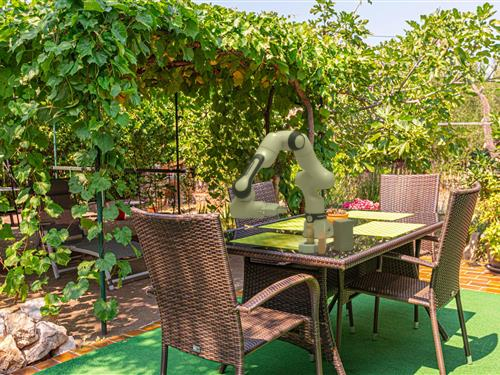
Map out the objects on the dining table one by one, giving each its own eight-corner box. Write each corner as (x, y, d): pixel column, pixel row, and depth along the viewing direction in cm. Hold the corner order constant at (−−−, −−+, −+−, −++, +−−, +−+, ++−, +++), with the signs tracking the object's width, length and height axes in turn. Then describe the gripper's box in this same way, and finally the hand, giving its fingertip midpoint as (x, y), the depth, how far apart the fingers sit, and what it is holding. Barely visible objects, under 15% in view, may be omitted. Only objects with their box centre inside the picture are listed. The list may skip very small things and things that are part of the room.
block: (298, 252, 253) (298, 245, 253) (300, 247, 267) (300, 240, 267) (318, 253, 251) (318, 246, 251) (320, 247, 265) (320, 241, 265)
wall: (318, 254, 249) (318, 238, 249) (320, 247, 267) (320, 232, 266) (324, 254, 249) (324, 238, 248) (326, 247, 266) (326, 232, 266)
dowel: (309, 249, 262) (309, 222, 261) (316, 250, 259) (315, 223, 258) (305, 251, 259) (304, 223, 258) (311, 251, 256) (311, 224, 255)
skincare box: (346, 248, 262) (346, 218, 261) (354, 251, 256) (354, 219, 255) (332, 250, 259) (332, 219, 258) (340, 252, 253) (339, 221, 251)
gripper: (256, 206, 252) (284, 206, 249) (263, 201, 272) (289, 200, 269) (256, 219, 253) (284, 218, 250) (263, 213, 273) (289, 212, 270)
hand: (286, 209), depth 260 cm, fingers open, 8 cm apart
